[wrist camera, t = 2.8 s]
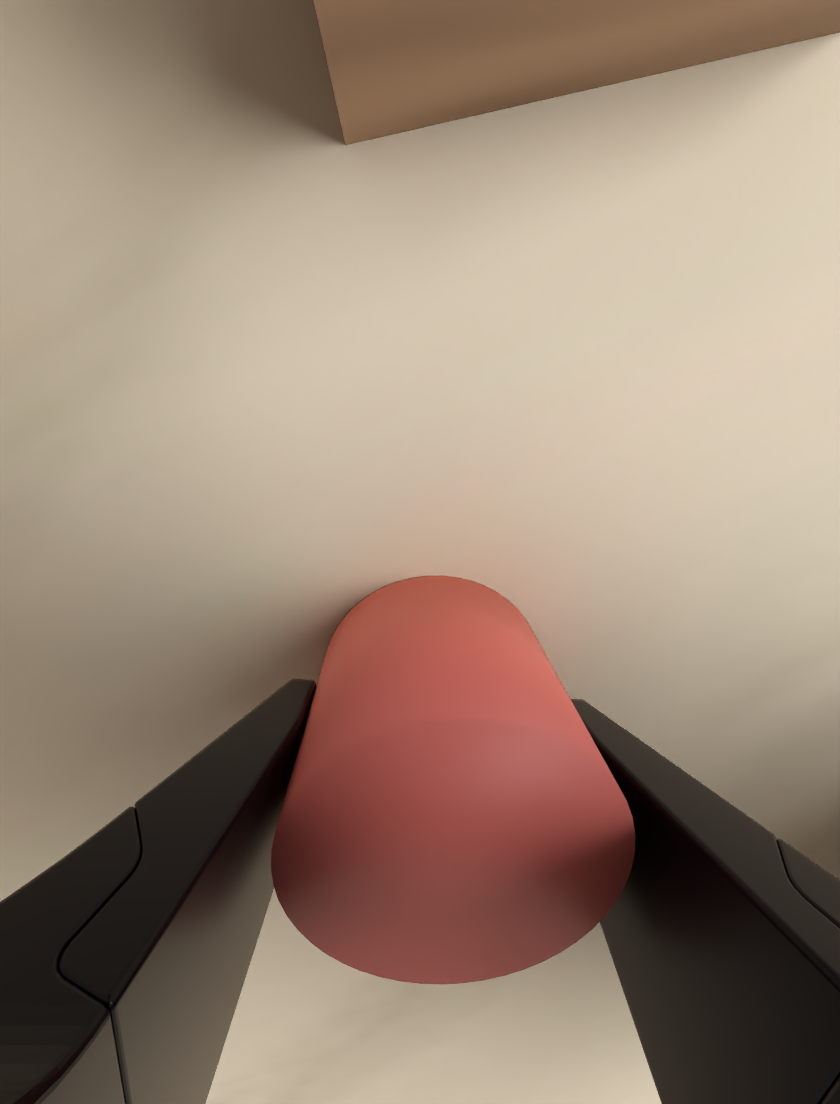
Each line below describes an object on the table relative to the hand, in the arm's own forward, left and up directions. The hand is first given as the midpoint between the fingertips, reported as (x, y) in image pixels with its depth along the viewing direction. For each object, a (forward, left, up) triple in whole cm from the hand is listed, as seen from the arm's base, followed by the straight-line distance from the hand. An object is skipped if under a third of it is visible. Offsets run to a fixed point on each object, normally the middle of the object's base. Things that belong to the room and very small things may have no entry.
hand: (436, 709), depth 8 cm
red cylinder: (0, 0, -1) cm, 1 cm away
